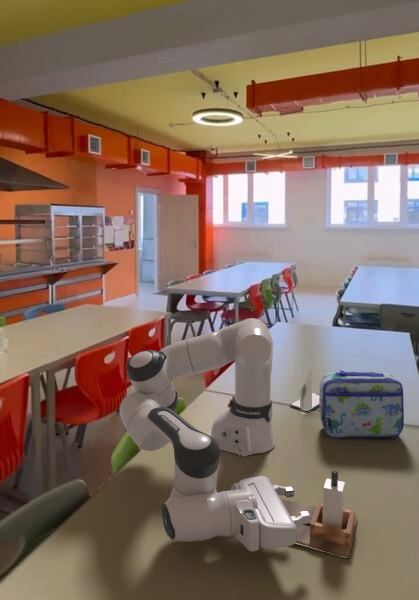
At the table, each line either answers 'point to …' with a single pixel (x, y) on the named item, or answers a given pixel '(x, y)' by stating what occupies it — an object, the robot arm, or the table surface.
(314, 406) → the phone case
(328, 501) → the connector plug
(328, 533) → the board
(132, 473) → the table surface
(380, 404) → the lunch box
